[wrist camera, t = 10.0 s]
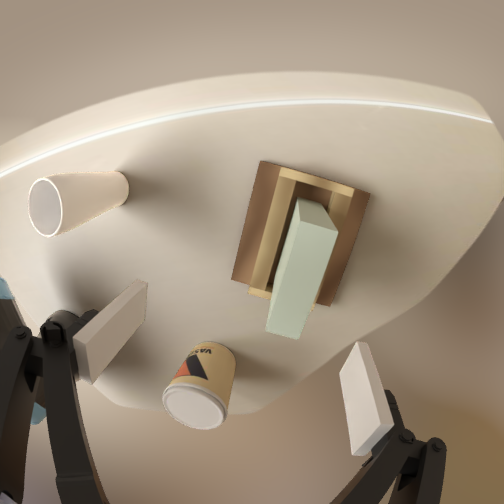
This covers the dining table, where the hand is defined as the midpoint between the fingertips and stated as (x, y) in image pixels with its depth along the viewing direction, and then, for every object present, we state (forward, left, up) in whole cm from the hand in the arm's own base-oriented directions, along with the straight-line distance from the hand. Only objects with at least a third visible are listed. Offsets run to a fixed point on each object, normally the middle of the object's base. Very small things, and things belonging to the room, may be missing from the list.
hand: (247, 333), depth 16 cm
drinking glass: (-24, +1, -22) cm, 33 cm away
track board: (+3, +1, -22) cm, 22 cm away
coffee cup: (-4, -23, -22) cm, 32 cm away
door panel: (+3, +1, -21) cm, 21 cm away
